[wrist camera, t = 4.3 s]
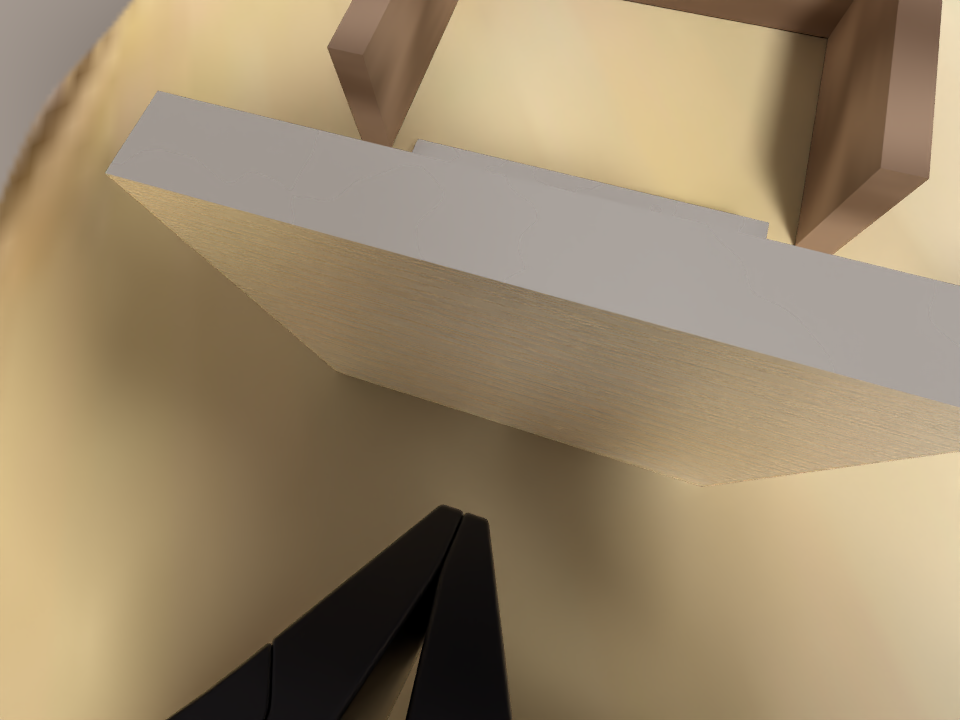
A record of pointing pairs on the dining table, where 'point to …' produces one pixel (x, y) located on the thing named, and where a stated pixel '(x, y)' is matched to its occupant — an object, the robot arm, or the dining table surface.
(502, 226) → the bracket
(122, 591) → the dining table surface
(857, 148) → the bay
